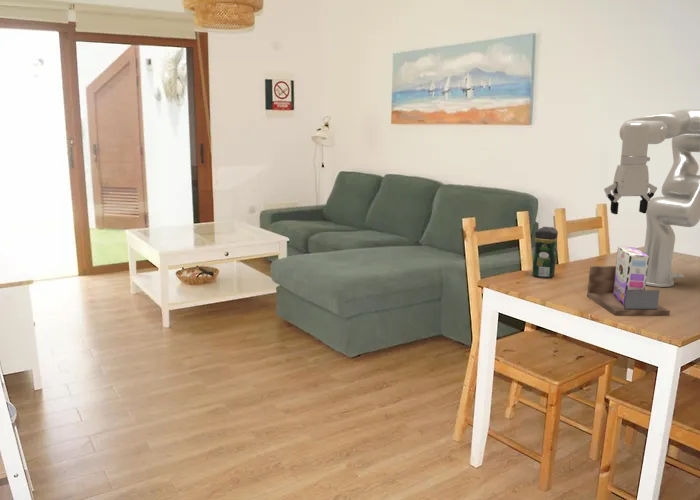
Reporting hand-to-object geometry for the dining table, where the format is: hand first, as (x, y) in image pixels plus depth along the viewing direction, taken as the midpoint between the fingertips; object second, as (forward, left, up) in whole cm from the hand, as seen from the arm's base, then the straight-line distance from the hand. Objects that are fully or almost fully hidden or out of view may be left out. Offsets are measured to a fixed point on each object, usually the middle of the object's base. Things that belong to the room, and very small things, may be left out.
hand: (628, 213), depth 196 cm
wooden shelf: (+3, +11, -28) cm, 31 cm away
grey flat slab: (+3, +20, -27) cm, 33 cm away
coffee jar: (+17, -26, -28) cm, 42 cm away
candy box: (+3, +11, -27) cm, 29 cm away
